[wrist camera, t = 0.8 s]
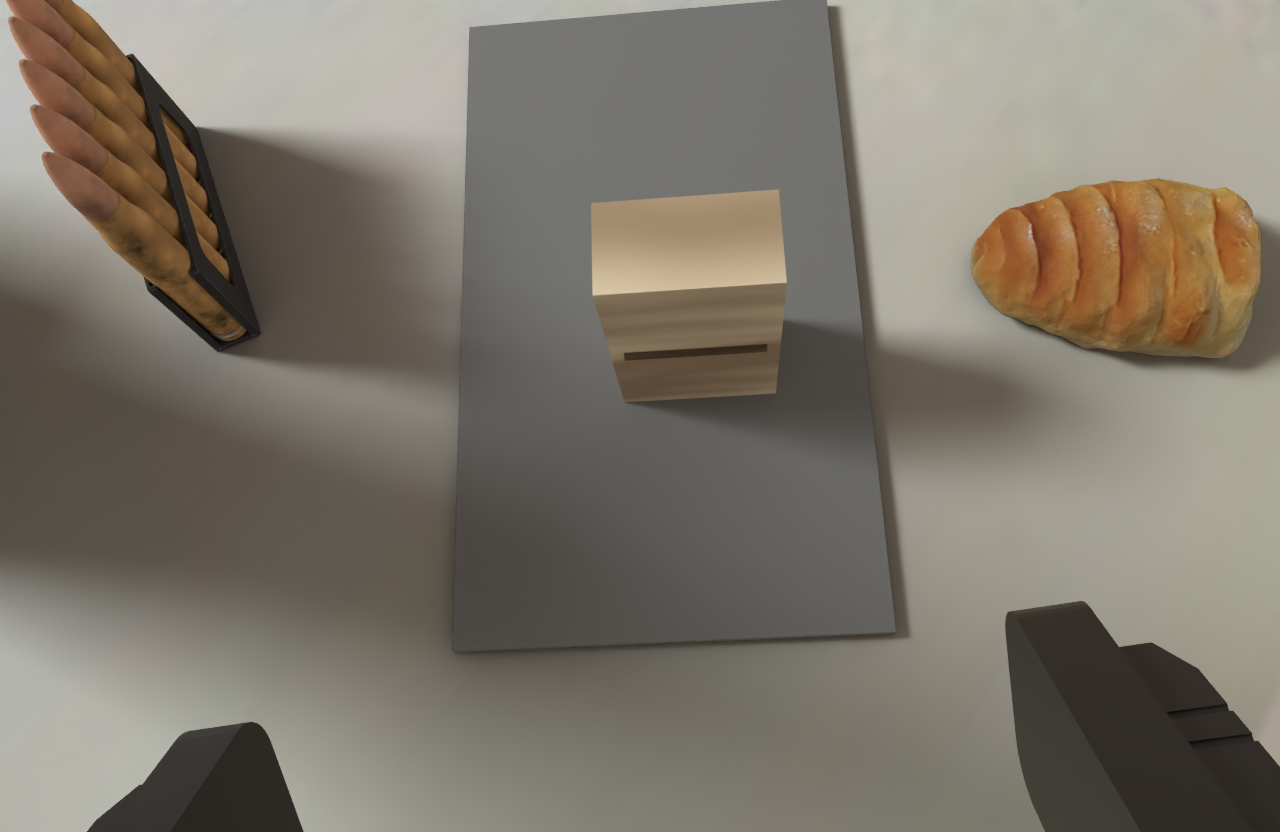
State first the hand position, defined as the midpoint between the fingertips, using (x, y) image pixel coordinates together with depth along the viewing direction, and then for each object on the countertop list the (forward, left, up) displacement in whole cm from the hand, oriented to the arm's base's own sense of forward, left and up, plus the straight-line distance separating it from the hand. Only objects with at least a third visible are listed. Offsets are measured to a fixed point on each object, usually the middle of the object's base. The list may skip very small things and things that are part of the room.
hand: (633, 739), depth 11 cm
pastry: (0, +23, -25) cm, 34 cm away
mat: (-13, +11, -25) cm, 30 cm away
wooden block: (-10, +10, -24) cm, 28 cm away
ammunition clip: (-29, +1, -25) cm, 38 cm away
